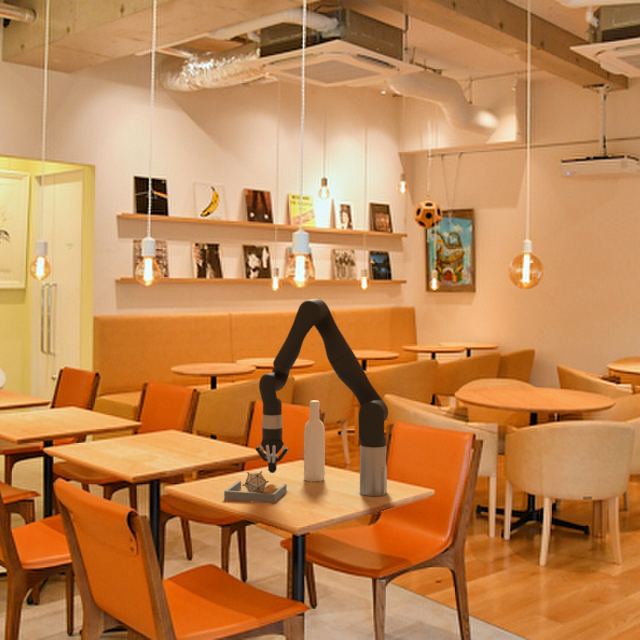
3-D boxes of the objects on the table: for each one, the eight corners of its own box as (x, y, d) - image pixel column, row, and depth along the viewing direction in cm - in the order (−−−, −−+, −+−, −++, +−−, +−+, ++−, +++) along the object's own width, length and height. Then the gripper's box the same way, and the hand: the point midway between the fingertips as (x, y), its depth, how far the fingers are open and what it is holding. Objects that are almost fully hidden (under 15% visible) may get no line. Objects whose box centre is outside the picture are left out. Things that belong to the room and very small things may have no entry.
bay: (286, 492, 299) (286, 484, 299) (274, 503, 284) (274, 494, 284) (238, 489, 303) (238, 480, 303) (224, 499, 289) (224, 491, 288)
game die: (258, 506, 294) (263, 487, 288) (237, 496, 296) (241, 477, 290) (269, 488, 301) (273, 470, 295) (248, 479, 303) (252, 460, 297)
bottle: (319, 483, 313) (319, 403, 312) (300, 480, 316) (300, 401, 315) (328, 478, 320) (328, 400, 319) (309, 476, 324) (310, 398, 322)
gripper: (292, 425, 314) (292, 471, 315) (258, 423, 317) (258, 469, 318) (286, 428, 307) (286, 475, 308) (252, 427, 310) (252, 473, 311)
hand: (272, 472), depth 313 cm, fingers closed
